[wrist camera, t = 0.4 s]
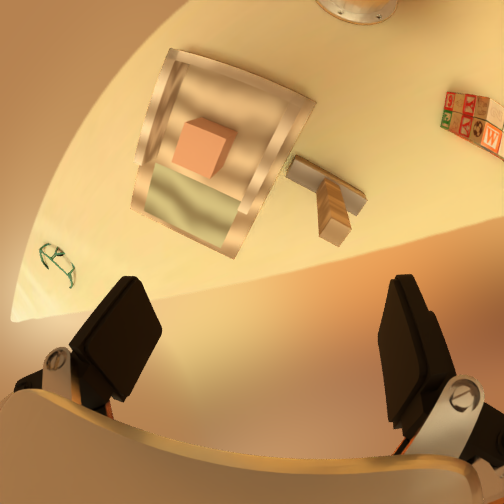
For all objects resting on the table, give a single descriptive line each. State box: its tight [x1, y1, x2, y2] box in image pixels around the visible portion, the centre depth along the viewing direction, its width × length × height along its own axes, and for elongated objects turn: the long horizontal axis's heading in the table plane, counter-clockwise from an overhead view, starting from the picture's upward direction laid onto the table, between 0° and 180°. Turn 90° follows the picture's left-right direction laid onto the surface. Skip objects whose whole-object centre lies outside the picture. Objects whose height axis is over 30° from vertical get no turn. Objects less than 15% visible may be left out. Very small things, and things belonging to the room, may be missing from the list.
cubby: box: [130, 48, 316, 259], centre depth 38 cm, size 30×22×6 cm
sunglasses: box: [39, 243, 75, 288], centre depth 63 cm, size 14×15×5 cm
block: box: [172, 117, 238, 179], centre depth 35 cm, size 6×6×6 cm
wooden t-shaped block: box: [286, 155, 367, 247], centre depth 33 cm, size 3×12×16 cm, turn 66°
